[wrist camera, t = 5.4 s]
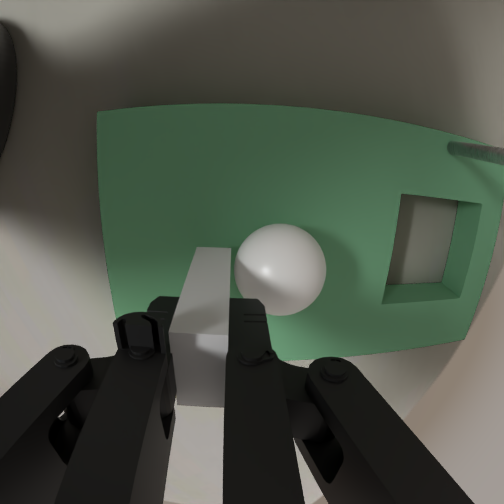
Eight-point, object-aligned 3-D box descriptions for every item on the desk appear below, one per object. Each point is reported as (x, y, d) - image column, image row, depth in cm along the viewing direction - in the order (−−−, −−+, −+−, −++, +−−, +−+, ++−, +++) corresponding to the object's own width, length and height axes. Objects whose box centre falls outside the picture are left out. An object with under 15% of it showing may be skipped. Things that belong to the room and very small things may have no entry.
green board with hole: (134, 333, 20) (124, 356, 17) (115, 114, 15) (97, 111, 12) (448, 322, 21) (464, 339, 19) (485, 147, 16) (508, 151, 14)
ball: (214, 308, 14) (287, 347, 12) (214, 224, 13) (301, 253, 10) (267, 279, 17) (333, 306, 15) (273, 207, 15) (347, 227, 13)
